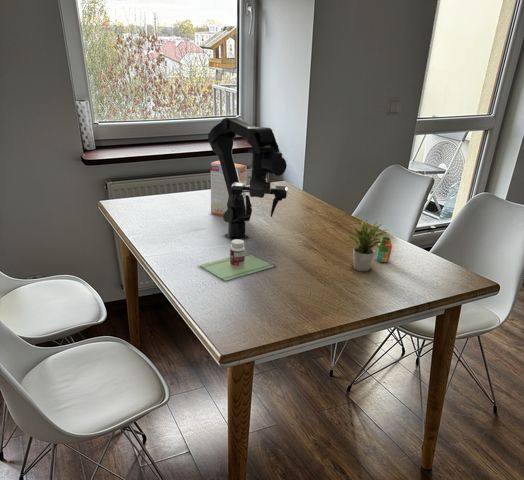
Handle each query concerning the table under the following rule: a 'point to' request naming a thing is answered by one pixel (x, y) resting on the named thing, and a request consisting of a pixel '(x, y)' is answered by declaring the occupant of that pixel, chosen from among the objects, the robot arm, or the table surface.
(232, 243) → the pill bottle
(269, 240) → the table surface
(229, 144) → the robot arm
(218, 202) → the cracker box
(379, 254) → the colorful patterned jar
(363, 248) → the house plant
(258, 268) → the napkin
